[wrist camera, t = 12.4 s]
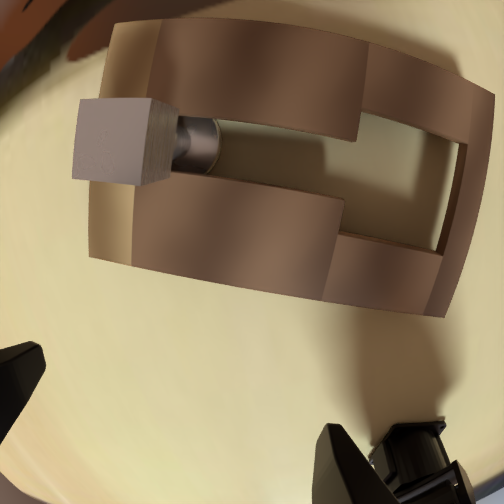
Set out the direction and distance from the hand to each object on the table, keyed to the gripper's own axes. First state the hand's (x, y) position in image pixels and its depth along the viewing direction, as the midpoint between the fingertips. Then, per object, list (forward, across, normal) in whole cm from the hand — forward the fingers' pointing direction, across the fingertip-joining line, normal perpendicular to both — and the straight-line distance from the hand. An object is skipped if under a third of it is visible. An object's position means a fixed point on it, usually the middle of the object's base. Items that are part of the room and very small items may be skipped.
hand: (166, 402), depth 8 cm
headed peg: (+12, +4, -7) cm, 15 cm away
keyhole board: (+12, -2, -7) cm, 14 cm away
